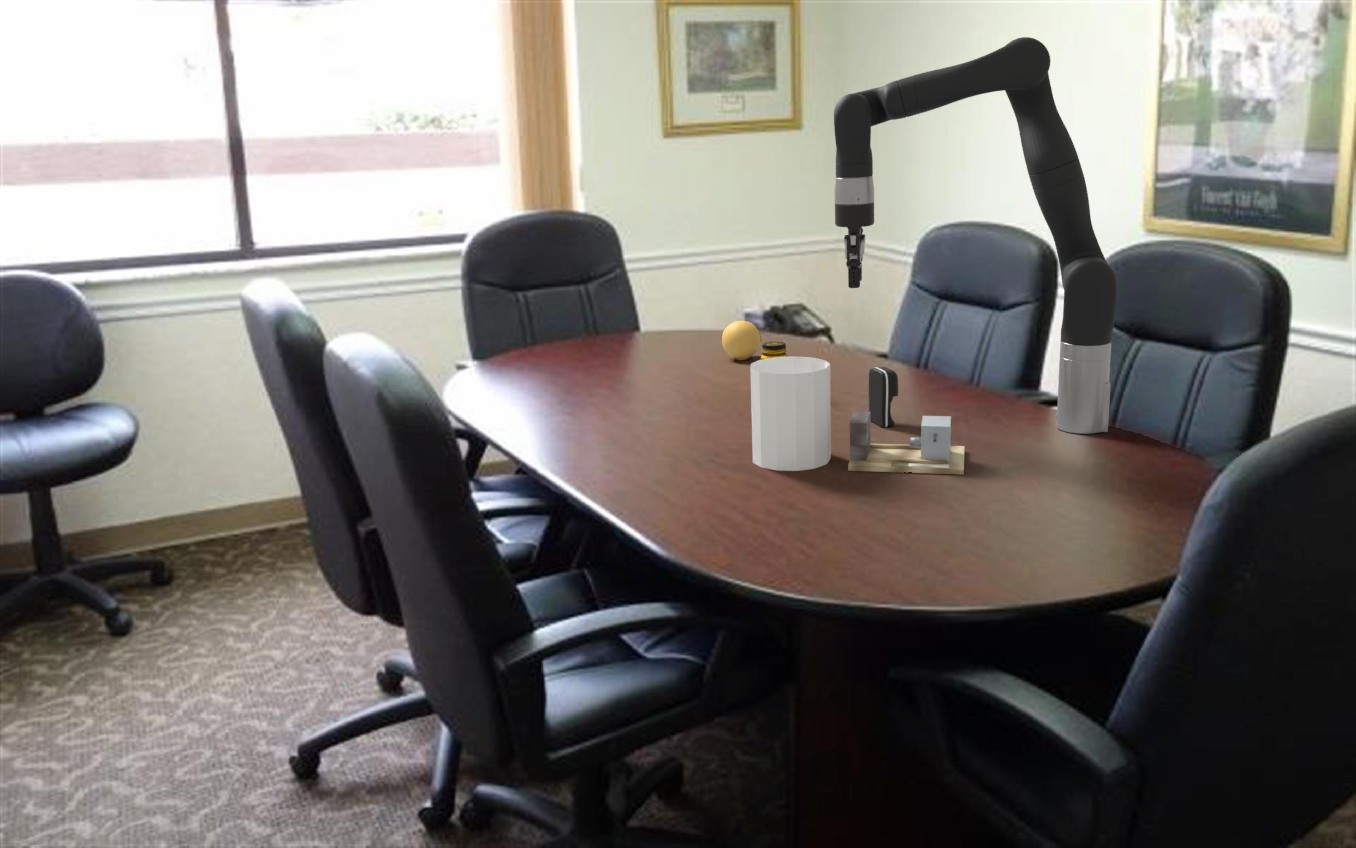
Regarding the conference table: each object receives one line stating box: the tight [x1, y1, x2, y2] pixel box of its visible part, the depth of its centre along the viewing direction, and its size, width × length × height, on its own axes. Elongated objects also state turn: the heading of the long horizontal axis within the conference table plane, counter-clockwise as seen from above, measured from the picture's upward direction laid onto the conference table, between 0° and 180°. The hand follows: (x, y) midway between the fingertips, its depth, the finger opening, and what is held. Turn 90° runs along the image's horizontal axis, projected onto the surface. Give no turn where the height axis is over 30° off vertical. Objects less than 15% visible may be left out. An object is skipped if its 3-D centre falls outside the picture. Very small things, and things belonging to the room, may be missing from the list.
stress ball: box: [721, 319, 762, 361], centre depth 303 cm, size 10×10×10 cm
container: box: [749, 355, 832, 472], centre depth 217 cm, size 14×14×18 cm
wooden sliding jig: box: [847, 410, 965, 475], centre depth 215 cm, size 20×14×8 cm
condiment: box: [760, 340, 789, 360], centre depth 266 cm, size 7×8×12 cm
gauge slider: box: [909, 415, 952, 462], centre depth 212 cm, size 7×10×6 cm, turn 166°
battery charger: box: [868, 366, 899, 428], centre depth 239 cm, size 7×4×11 cm, turn 16°
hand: (855, 284), depth 233 cm, fingers open, 8 cm apart
